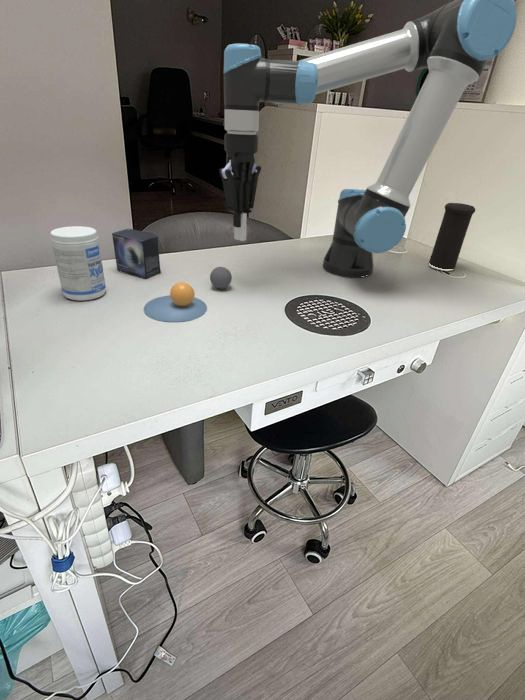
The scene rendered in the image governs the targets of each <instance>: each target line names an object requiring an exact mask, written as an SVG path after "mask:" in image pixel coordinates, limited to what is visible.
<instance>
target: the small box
mask: <svg viewBox="0 0 525 700" xmlns="http://www.w3.org/2000/svg"><path fill="white" fill-rule="evenodd" d="M111 236H112V242H113V249H114V257H115V265H116V270H118V272H120V271H121V272H120V273H124V274H128V275H130V276H134V277H137V278H140V279H143V280H147V279H150V278H153V277H155V276H157V275H160V274H161V273H162V271H161V262H160V251H159V250H160V249H159V235H157V234H153V233H150V232H144V231H141V230H137V229H132V228H126V229H122V230H119V231H115V232H112V233H111Z"/></svg>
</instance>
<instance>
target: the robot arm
mask: <svg viewBox="0 0 525 700" xmlns="http://www.w3.org/2000/svg"><path fill="white" fill-rule="evenodd" d="M517 19H518V12H517V9H516V2H515V0H451V1H450V2H448V3H445V4H443V5H442V6H441V7H439V8H437V9H435V10H434V11H432V12H430V13H428V14H426V15H423V16H422V17H419V18H417V19H413V20H410V21H407V22H406V23H405V25H404V26H403V28H402V29H399V30H396V31H393V32H390V33H385V34H383V35H379V36H376V37H373V38H369V39H366V40H363V41H359V42H356V43H352V44H349V45H346V46H343V47H339V48H336V49H333V50H330V51H326V52H324V53H320V54H315V55H313V56H310V57H307V58H306V57H305V58H304V59H300V60H288V59H269V58H264V57H262V50H261V48H260V47H259V46H258V45H256V44H249V43H232V44H228V45H227V46H226V48H225V49H224V51H223V101H224V102H223V103H224V105H223V107H224V130H225V131H227V132H226V133H225V134H224V136H223V137H224V146H223V147H224V151H225V153H227V158H226V163H225V164H226V165H225V167H223V168H219V170H218V173H219V176H220V177H221V181H222V187H223V192H224V199H225V205H226V210H227V212H230V213H232V215H233V217H232V218H233V219H232V220H233V221H232V222H233V233H234V234H233V235H234V236H233V238H234V240H237V241H241V242H244V241H247V225H248V214H251V213H252V209H254V207H255V205H254V204H255V200H256V193H257V187H258V180H259V177H260V176H259V175H260V174H261V171H262V167H261V165H257V164H256V159H255V154H257V153H258V151H259V150H258V149H259V136H258V135H257V133H258V131H260V129H259V128H260V127H259V126H260V103H262V102H263V103H271V104H273V105H275V106H282V105H294V104H295V105H298V106H299V105H310V104H312V103H313V102H314V101H315V99H316V96H317V95H318V94H321V93H324V92H329V91H331V90H332V91H333V90H335V89H339V88H342V87H345V86H349V85H351V84H352V85H353V84H357V83H359V82H363V81H367V80H369V79H373V78H376V77H379V76H384V75H387V74H390V73H394V72H397V71H400V70H405V71H407V72H408V73H411V72H414V71H417V70H422V69H428V73H427V75H426V78H425V79H424V82H423V84H422V86H421V88H420V90H419V93H418V95H417V97H416V99H415V101H414V103H413V105H412V107H411V109H410V111H409V113H408V115H407V118H406V119H405V121H404V123H403V126H402V128H401V130H400V132H399V134H398V136H397V139H396V141H395V143H394V145H393V146H392V149H391V151H390V154H389V156H388V158H387V159H386V161H385V163H384V166H383V168H382V170H381V172H380V174H379V176H378V178H377V180H376V182H375V183H373V184H371V185H369V186H367V188H366V189H358V188H357V189H356V188H355V189H354V188H344V189H342V190H341V191H340V194H339V198H338V200H337V209H336V217H335V222H334V229H333V236H332V241H331V243H330V246H328V247H329V248H328V250H327V252H326V254H325V256H324V258H323V261H322V268H323V269H324V270H325V271H326V272H328V273H330V274H333V275H337V276H341V277H345V278H362V277H361V276H366V275H369V274H371V273H372V274H373V270H374V257H373V254H383V253H386V252H388V251H390V250H392V249H394V248H395V247H396V246H397V245H398V244H399V243H400V242H401V241H402V239H404V236H405V233H406V230H407V229H406V228H407V223H406V216H407V213H408V212H409V210H410V208H411V202H410V194H411V192H412V191H413V188H414V187H415V184H416V183H417V181H418V179H419V177H420V176H421V173H422V172H423V170H424V167H425V166H426V164H427V162H428V160H429V158H430V156H431V155H432V152H433V151H434V149H435V147H436V144H437V143H438V141H439V139H440V137H441V135H442V134H443V132H444V130H445V127H446V126H447V124H448V122H449V120H450V118H451V116H452V114H453V112H454V111H455V108H456V106H457V105H458V103H459V101H460V99H461V97H462V95H463V94H464V91H465V89H466V88H467V87H468V86H469V85H472V84H473V83H476V82H477V81H478V80H479V79H480V76H481V75H482V73H483V71H484V69H485V68H486V65H487V64H488V62H489V60H491V59H493V58H495V57H496V56H497V55H499V54H500V53H502V51H503V50H504V49H505V48H506V47H507V45H508V44H509V43H510V41H511V39H512V37H513V35H514V33H515V29H516V26H517ZM372 274H371V275H372ZM369 276H370V275H369ZM366 277H367V276H366Z"/></svg>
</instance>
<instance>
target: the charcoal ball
mask: <svg viewBox="0 0 525 700" xmlns="http://www.w3.org/2000/svg"><path fill="white" fill-rule="evenodd" d="M209 279H210V283H211V285H212V286H213V287H214V288H216V289H221V290H222V289H226V288H227V287H229V286H230V285H231V283H232V280H233V279H232V274H231V271H230V270H229V269H228V268H226V267H224V266H216V267H215V268H213V269H212V271H211V273H210V274H209Z"/></svg>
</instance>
